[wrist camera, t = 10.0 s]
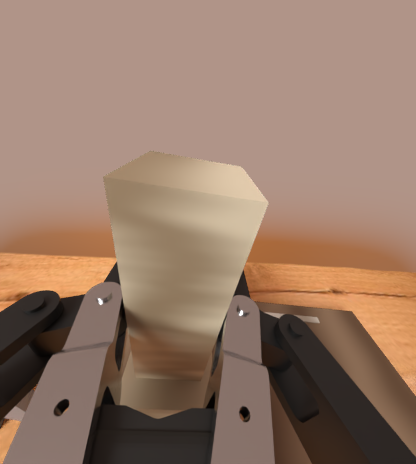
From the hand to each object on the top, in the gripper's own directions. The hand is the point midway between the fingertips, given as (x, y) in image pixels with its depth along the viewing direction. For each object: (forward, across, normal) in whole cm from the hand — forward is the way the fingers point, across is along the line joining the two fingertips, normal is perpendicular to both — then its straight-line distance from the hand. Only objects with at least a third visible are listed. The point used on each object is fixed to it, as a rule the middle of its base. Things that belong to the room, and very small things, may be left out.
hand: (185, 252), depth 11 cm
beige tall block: (-3, 0, +8) cm, 9 cm away
